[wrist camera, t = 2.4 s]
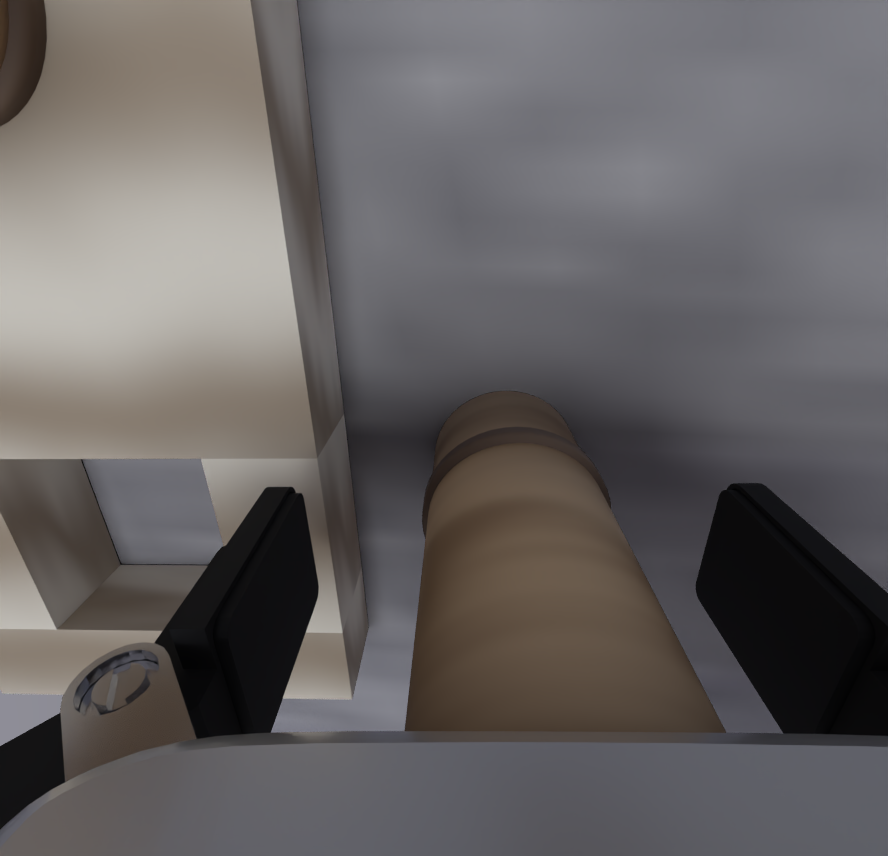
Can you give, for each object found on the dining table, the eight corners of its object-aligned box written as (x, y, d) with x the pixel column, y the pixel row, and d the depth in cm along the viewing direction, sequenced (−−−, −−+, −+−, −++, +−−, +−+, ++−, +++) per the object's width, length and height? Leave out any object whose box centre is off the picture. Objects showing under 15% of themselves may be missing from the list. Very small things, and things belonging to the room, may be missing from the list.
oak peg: (570, 517, 16) (816, 1177, 5) (432, 516, 16) (373, 1154, 5) (585, 385, 14) (1037, 989, 3) (428, 386, 14) (317, 963, 3)
